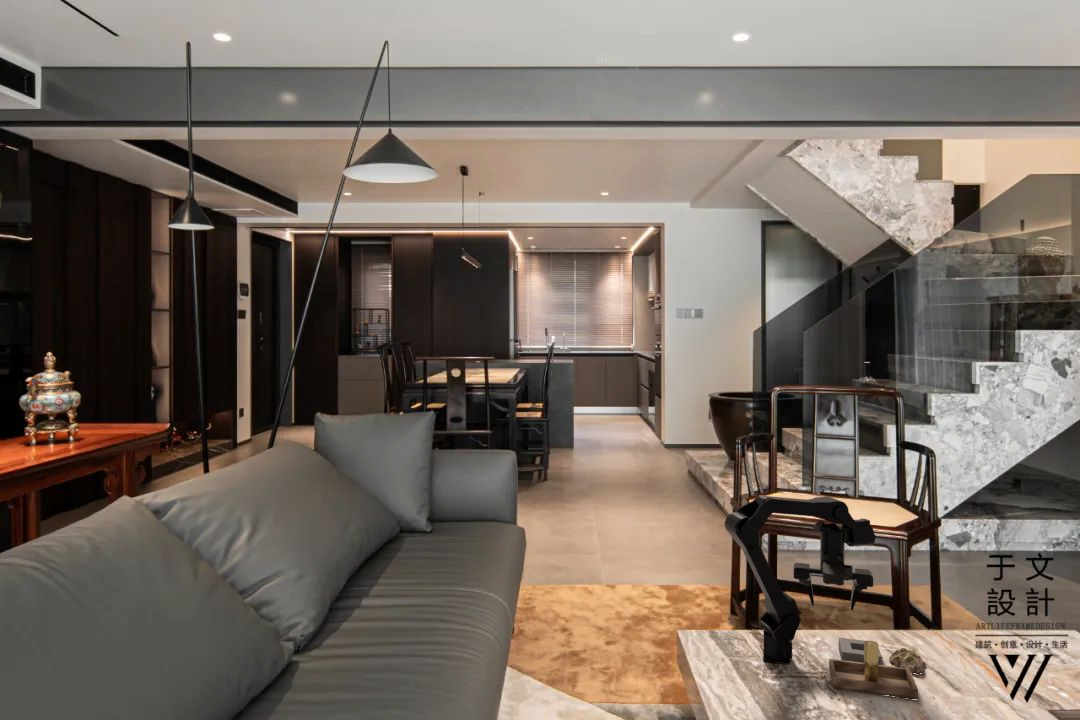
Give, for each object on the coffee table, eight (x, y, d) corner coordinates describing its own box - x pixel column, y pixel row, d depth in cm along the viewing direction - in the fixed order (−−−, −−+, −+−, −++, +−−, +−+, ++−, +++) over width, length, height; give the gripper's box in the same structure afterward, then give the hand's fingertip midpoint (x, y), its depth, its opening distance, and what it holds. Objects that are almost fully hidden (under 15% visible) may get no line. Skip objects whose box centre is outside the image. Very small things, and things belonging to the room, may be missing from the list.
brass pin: (864, 683, 162) (865, 644, 161) (863, 677, 164) (863, 639, 164) (879, 685, 161) (879, 646, 160) (877, 679, 163) (877, 641, 163)
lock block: (842, 663, 173) (842, 651, 173) (838, 648, 181) (838, 637, 181) (881, 668, 170) (881, 656, 170) (876, 653, 178) (876, 641, 178)
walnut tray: (832, 688, 160) (832, 678, 160) (829, 668, 170) (829, 658, 170) (918, 700, 155) (918, 689, 155) (908, 678, 165) (908, 668, 165)
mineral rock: (882, 646, 178) (914, 640, 176) (886, 663, 178) (919, 656, 176) (896, 667, 167) (931, 661, 166) (901, 684, 167) (936, 678, 166)
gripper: (793, 552, 174) (793, 614, 174) (875, 560, 167) (875, 624, 168) (793, 540, 184) (793, 598, 184) (871, 547, 178) (870, 607, 178)
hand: (832, 607), depth 178 cm, fingers open, 9 cm apart
